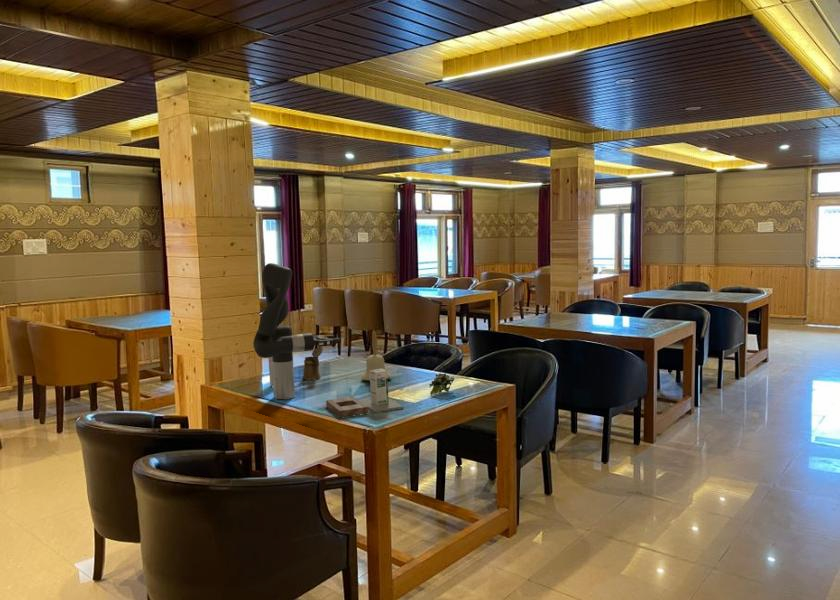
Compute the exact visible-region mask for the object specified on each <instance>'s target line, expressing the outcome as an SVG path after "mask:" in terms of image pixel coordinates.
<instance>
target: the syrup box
mask: <svg viewBox="0 0 840 600" xmlns="http://www.w3.org/2000/svg"><path fill="white" fill-rule="evenodd" d="M387 372H388V370H387V369H386V368H385V369H377V370H370V380H369V382H370V383H369V385H370V398H371V402H372V403H373V404H375V405H381V404H387V403H389V398H390V397H389V381H388V379H389V378H388V377H387Z"/></svg>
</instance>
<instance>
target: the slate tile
mask: <svg viewBox="0 0 840 600" xmlns="http://www.w3.org/2000/svg"><path fill="white" fill-rule="evenodd" d="M388 398H389V403H387V404H381V405H375V404H373V403H372V402H371V397H370V398H364V399H358V400H359V401H360V402H362V403H363V404H365V405H366V406H368V410H369V409H370V410H371V412H372V411H373V412H378V413H382V411H384V412H389V411H390V410H391V411H397V410H402V408H403V409H404V405H402V404H400V403H399V402H396V401H395V400H393V399H391V398H390V397H388ZM396 409H397V410H396ZM370 410H369V411H370ZM373 412H372V413H373Z"/></svg>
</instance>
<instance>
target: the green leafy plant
mask: <svg viewBox="0 0 840 600" xmlns="http://www.w3.org/2000/svg"><path fill="white" fill-rule="evenodd" d="M454 380H455V377H454V376H449V375H447V374H446V373H438V374H435V378H434V379H433V380H431V383H429V384H428V385H429V388H431V387H432V389H431V390H430V396H431V395H432V396H433V395H434V394H438V393H440V392H439V391H441V392H442V391H444V392H446V393H447V395H449V393H450V388H451V386H452V385H453V382H454ZM447 386H448V387H447ZM447 395H446V396H447Z"/></svg>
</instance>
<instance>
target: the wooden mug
mask: <svg viewBox="0 0 840 600" xmlns="http://www.w3.org/2000/svg"><path fill="white" fill-rule="evenodd" d="M323 349H324V348H323V347H319V346H317V347H316V348H314V349H313V350H312V351H311V356H306V357H304V361H303V364H304V365H303V376H302V380H303V379H305V380H304V381H315V380H314V379H317V380H320V379H321V374H320V370H319V367H320V361H319V357H320V356H321V354H322V352H324V351H323ZM319 378H320V379H319Z"/></svg>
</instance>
